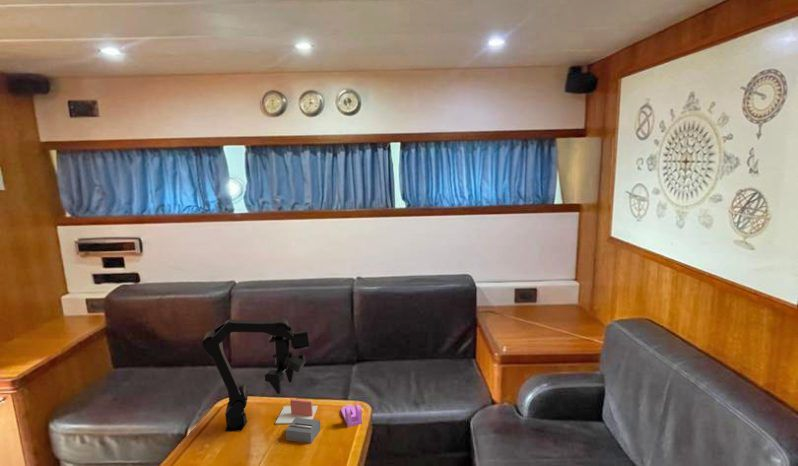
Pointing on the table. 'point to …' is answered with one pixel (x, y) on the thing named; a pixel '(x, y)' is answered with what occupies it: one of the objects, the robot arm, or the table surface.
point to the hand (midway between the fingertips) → (284, 388)
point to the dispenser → (303, 430)
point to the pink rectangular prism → (301, 407)
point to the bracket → (355, 417)
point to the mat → (292, 415)
